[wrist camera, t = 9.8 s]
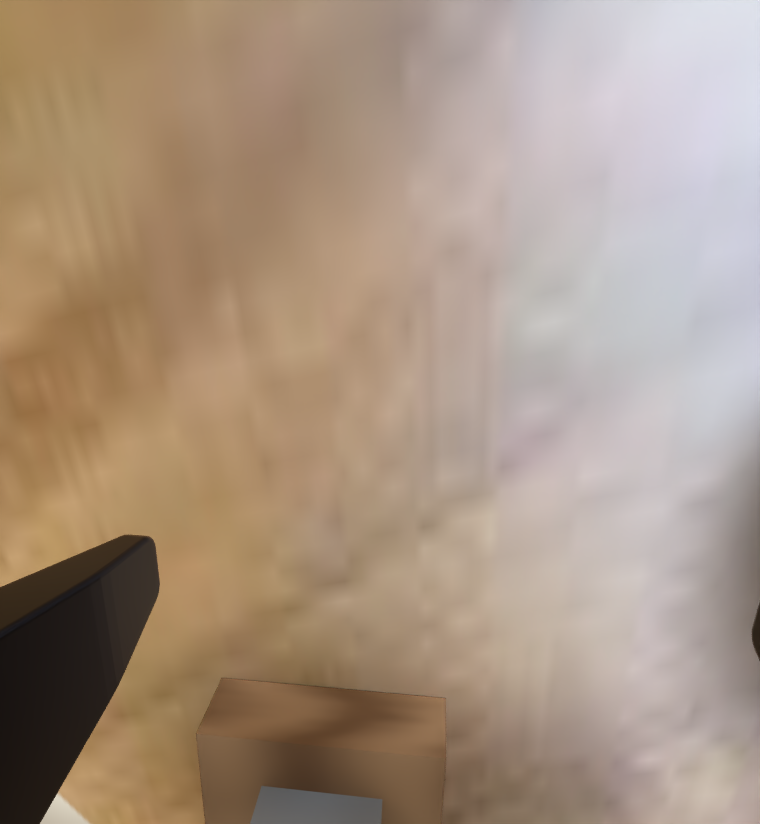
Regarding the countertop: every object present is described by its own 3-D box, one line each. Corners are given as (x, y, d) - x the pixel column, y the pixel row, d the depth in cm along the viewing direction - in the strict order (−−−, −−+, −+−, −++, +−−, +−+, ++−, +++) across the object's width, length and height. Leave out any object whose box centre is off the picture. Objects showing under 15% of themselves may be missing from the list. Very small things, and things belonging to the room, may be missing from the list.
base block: (445, 698, 26) (446, 758, 23) (433, 857, 29) (432, 927, 26) (221, 677, 27) (196, 733, 24) (234, 835, 30) (213, 901, 27)
